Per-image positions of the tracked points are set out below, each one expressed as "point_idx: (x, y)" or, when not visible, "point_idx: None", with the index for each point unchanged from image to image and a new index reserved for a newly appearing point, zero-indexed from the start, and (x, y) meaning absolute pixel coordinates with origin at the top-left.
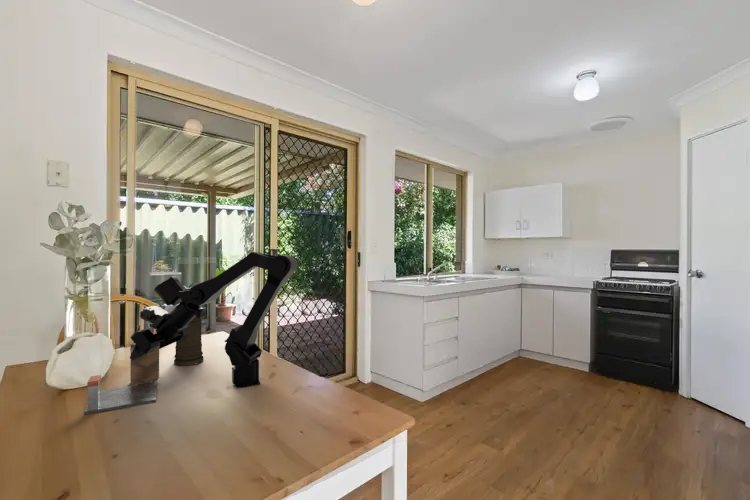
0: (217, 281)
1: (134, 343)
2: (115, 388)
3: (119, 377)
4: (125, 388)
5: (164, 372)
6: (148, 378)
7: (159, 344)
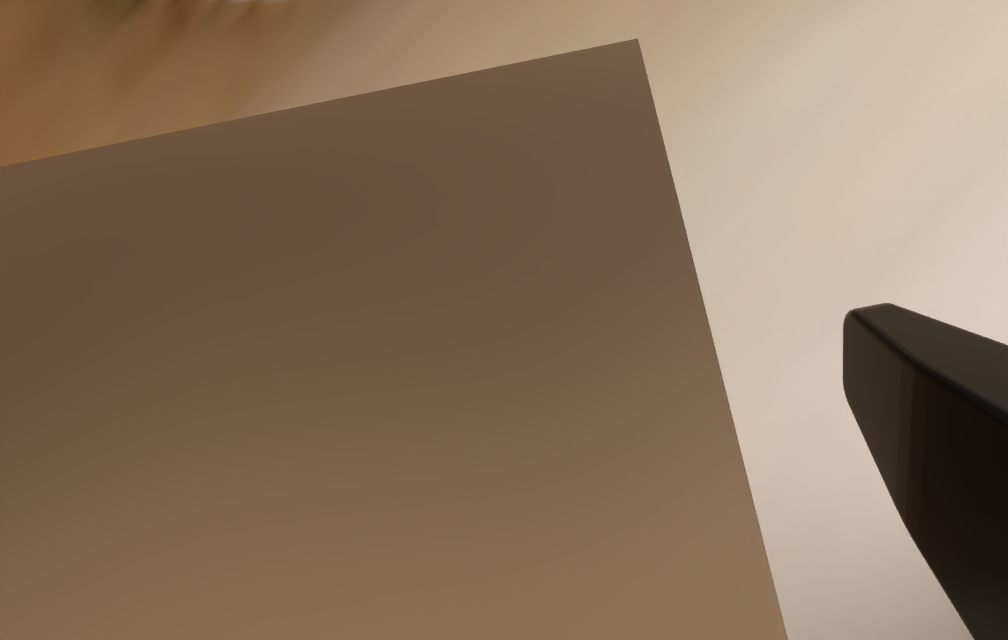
0: None
1: (79, 200)
2: None
3: (492, 67)
4: None
5: (889, 534)
6: None
7: (991, 533)
